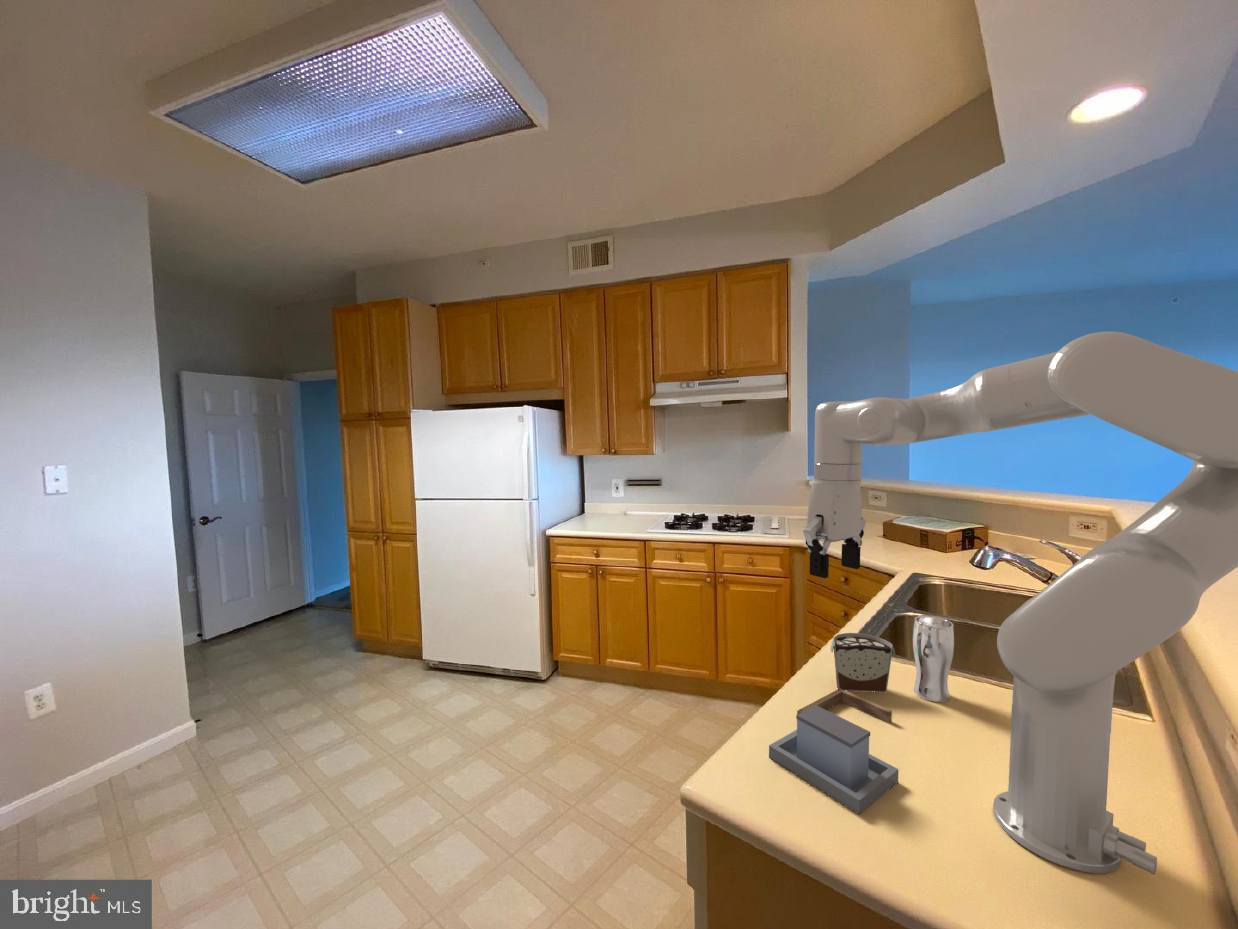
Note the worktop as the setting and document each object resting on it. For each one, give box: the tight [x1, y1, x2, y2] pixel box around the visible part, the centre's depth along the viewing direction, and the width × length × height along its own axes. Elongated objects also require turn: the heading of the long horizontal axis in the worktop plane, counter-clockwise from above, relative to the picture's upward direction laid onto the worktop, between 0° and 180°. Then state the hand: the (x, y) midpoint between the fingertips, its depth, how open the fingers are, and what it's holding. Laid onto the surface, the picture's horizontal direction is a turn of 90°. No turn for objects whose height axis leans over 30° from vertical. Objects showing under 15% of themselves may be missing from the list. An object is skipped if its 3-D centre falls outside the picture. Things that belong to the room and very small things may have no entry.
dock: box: [796, 688, 893, 724], centre depth 91 cm, size 10×14×2 cm
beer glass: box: [912, 615, 955, 703], centre depth 99 cm, size 7×7×15 cm
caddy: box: [795, 705, 871, 790], centre depth 77 cm, size 5×9×7 cm, turn 35°
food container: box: [830, 632, 896, 693], centre depth 104 cm, size 12×6×10 cm, turn 84°
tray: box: [768, 729, 899, 815], centre depth 78 cm, size 15×11×2 cm
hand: (835, 571), depth 87 cm, fingers open, 9 cm apart
